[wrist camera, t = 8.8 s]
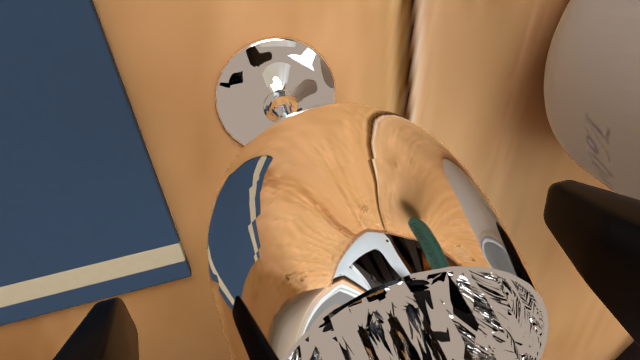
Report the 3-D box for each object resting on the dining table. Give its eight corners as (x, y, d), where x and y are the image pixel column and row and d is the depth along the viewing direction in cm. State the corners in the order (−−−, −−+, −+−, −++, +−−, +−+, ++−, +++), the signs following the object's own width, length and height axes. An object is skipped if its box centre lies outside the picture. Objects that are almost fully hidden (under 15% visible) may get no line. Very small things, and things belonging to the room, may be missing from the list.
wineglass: (208, -2, 15) (268, 212, 5) (371, 36, 17) (650, 242, 7) (186, 158, 17) (193, 510, 7) (329, 174, 19) (486, 469, 9)
